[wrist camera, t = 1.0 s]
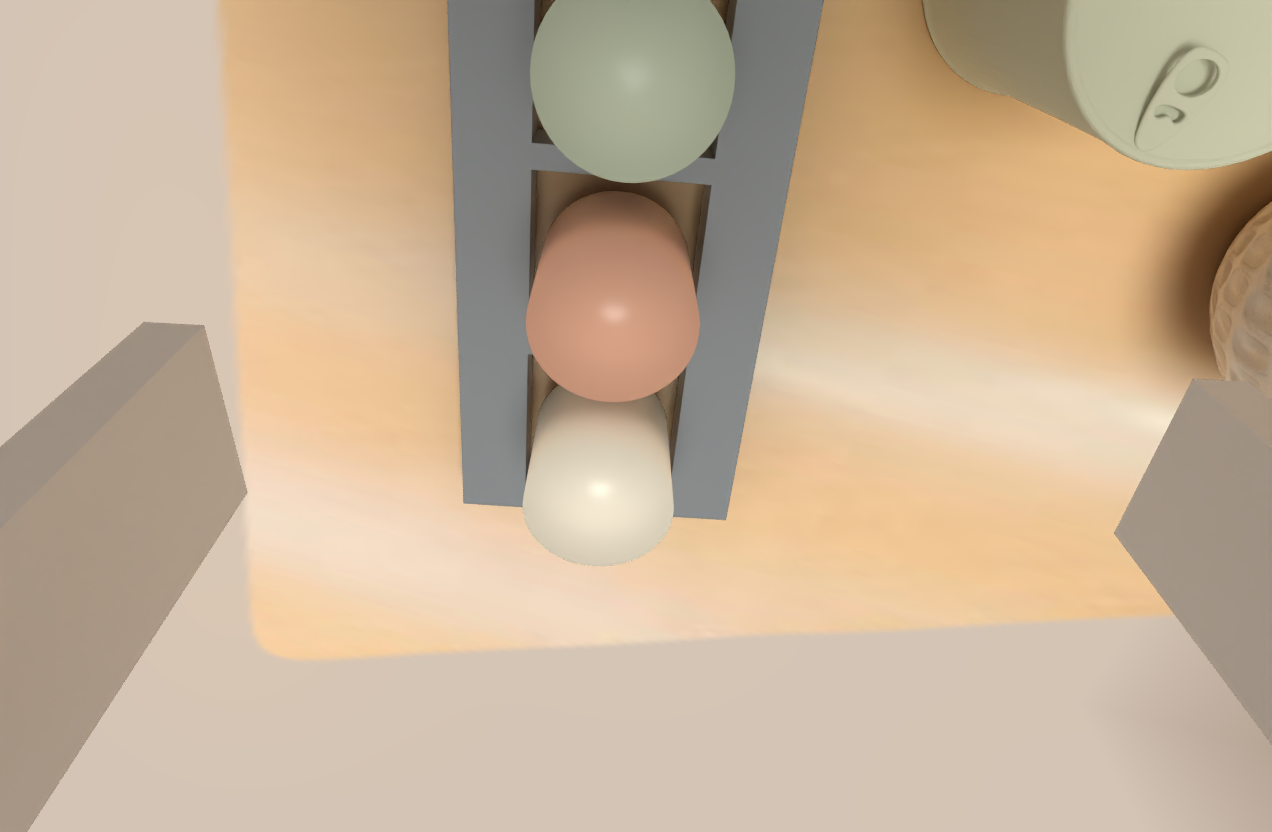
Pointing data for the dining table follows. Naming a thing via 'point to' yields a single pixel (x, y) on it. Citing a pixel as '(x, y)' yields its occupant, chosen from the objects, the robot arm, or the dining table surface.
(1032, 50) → the can
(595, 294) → the pink cylinder
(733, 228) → the board
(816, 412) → the dining table surface
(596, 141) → the pale green round piece
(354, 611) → the dining table surface
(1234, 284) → the vase
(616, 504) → the cream cylinder
